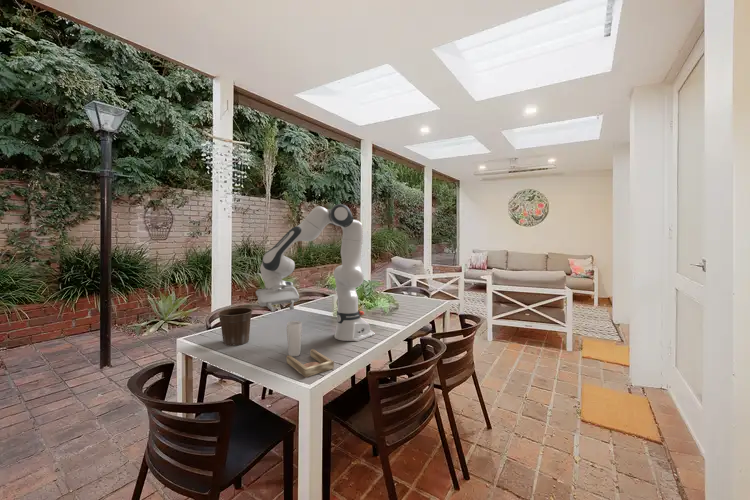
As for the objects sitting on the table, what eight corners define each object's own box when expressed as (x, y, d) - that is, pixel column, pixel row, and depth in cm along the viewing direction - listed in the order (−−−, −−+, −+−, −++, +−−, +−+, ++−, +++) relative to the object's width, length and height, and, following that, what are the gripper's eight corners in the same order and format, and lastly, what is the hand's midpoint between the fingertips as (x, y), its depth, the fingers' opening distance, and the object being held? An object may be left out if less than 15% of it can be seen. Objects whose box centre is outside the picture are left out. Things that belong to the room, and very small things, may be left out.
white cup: (283, 356, 144) (283, 324, 143) (292, 351, 150) (292, 320, 149) (296, 358, 141) (296, 325, 140) (304, 353, 148) (304, 321, 147)
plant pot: (210, 344, 157) (210, 313, 156) (236, 335, 172) (235, 306, 171) (235, 349, 151) (235, 316, 150) (259, 339, 166) (259, 309, 165)
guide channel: (313, 355, 145) (313, 349, 145) (333, 368, 132) (333, 361, 132) (286, 362, 137) (286, 355, 137) (305, 377, 123) (305, 369, 123)
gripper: (256, 285, 153) (263, 309, 146) (295, 282, 166) (304, 303, 159) (253, 293, 156) (260, 317, 149) (291, 289, 169) (300, 310, 162)
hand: (283, 310), depth 154 cm, fingers open, 8 cm apart
